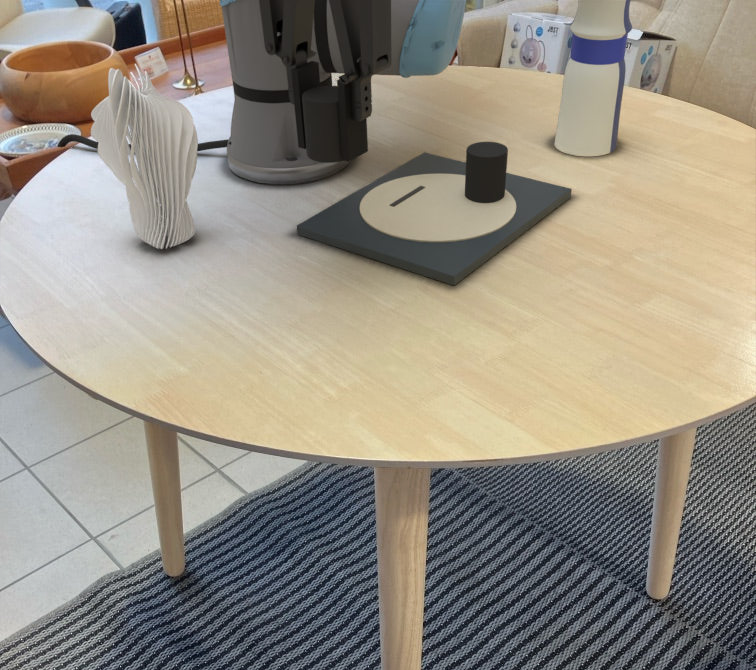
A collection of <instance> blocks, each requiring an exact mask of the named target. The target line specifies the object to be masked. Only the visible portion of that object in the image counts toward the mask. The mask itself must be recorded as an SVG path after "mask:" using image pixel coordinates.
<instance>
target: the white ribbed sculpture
mask: <svg viewBox="0 0 756 670" xmlns="http://www.w3.org/2000/svg"><path fill="white" fill-rule="evenodd" d="M134 67H135V69H136V71H137V73H138V77H139V79H140V83H141V86H140V84H139V82H138V81H137V78H136V76H135V75H134V73H133V71H130V72H129V74H130V76H131V78H132V79H133V80H134V82H135V83H136V86H137V88H136V86H135V85H134V84H133V83H132V82H131V80H130V79H128V76H126V75H125V76H124V74H123V72H122V70H121V69H119V68H117V69H115V68H113V67H110V68H109V71H108V75H107V85H108V86H107V87H108V96H106V97H105V98H103V99H102V101H100V102H99V103H98V104H97V105H95V106H94V108H93V109H92V110H91V113H90V116H91V119H92V121H93V123H92V126H91V128H90V136H91V137H92V139H93V140H94V141H96V142H99V143H98V149H97V154H98V156H99V158H100V159H101V161H102V162H103V163H104V164H105V165H106V166H107V167H108V169H109V170H110V171H111V173H112V174H113V175H114V176H115V178H116V180H118V181H119V182H120V183H121V184H123V185H124V187H125V191H126V197H127V200H128V201H127V202H128V203H129V205H128V207H129V214H130V219H131V223H132V227H133V230H134V232H135V234H136V235H137V236H138V238H139V239H140V240H142V241H143V242H144V243H146V244H148V245H150V246H151V247H153V248H156V249H160V250H163V249H164V248H165V249H166V250H167V249H168V248H172V247H175V246H178V245H181V244H182V243H185V242H187V241H189V240H190V239H192V238H193V237H194V235H195V230H196V228H195V222H194V218H193V216H192V212H191V210H190V207H189V204H188V201H187V199H188V196H189V194H190V191H191V187H192V182H193V179H194V176H195V173H196V169H197V164H198V152H197V147H198V144H199V138H198V137H199V136H198V132H197V127H196V126H195V123H194V119H193V118H194V117H193V115H192V113H191V112H190V110H189V109H188V107H186V105H184V104H183V103H182V102H180V101H179V100H177V99H174V98H172V97H169V96H168V95H164V94H163V93H160V92H159V91H158V89H157V88H156V87H154V85H153V82H152V80H151V77H150V76H149V74H148V71H147V70H144V75H145V77H144V76H143V73H142V72H141V69H140V68H139V67H138V65H137V63H134ZM129 144H131V150H130V147H129ZM135 159H136V160H135Z"/></svg>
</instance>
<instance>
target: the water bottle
mask: <svg viewBox="0 0 756 670" xmlns="http://www.w3.org/2000/svg"><path fill="white" fill-rule="evenodd" d="M631 1H632V0H577V9H576V14H575V15H574V16H575V17H574V19H573V20H572V21H571V23H570V24H569V29H570V31H571V32H572V35H571V43H570V44H571V45H570V53H569V57H568V59H567V61H566V64H565V67H564V73H563V81H562V88H561V96H560V103H559V104H560V105H559V112H558V117H557V125H556V131H555V137H554V141H553V142H554V143H553V145H554V147H555V149H557V150H558V151H559V152H562V153H564V154H567V155H571V156H577V157H600V156H605V155H608V154H611V153H613V152H614V151H615V150H617V147H618V137H619V127H620V118H621V109H622V100H623V95H624V87H625V82H626V81H625V80H626V69H627V68H626V59H625V57H626V49H627V42H628V35H629V33H630V32H632V30H633V25H632V22H631V19H630V6H631Z"/></svg>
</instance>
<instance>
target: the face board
mask: <svg viewBox="0 0 756 670" xmlns="http://www.w3.org/2000/svg"><path fill="white" fill-rule="evenodd" d="M465 174H466V161H461V160H457V159H453V158H449V157H445V156H441V155H437V154H433V153H429V152H425V151H424V152H422V153H421V154H419V155H417V156H415V157H413V158H412V159H410V160H408V161H406V162H404V163H403V164H401V165H400V166H397V167H396V168H395V169H393V170H391V171H389V172H387V173H385V174H384V175H382V176H381V177H379V178H377V179H375V180H373V181H372V182H370V183H368V184H367V185H364V186H363V187H361V188H359V189H358V190H356V191H354V192H352V193H350V194H349V195H347V196H345V197H344V198H342V199H340V200H339V201H337V202H335V203H333V204H331V205H330V206H328V207H326V208H324V209H323V210H320V212H317V213H315V214H314V215H312V216H311V217H309V218H307V219H306V220H304V221H302V222H300V223H298V224H296V234H297V235H298V236H301V237H304V238H308V239H310V240H314V241H316V242H320V243H323V244H326V245H329V246H332V247H335V248H338V249H341V250H344V251H347V252H350V253H353V254H356V255H360V256H362V257H365V258H368V259H371V260H374V261H377V262H381V263H384V264H387V265H390V266H393V267H396V268H399V269H401V270H405V271H408V272H411V273H414V274H417V275H421V276H424V277H425V278H426V277H427V278H430V279H432V280H436V281H439V282H442V283H445V284H447V285H451V286H456V285H457V284H459V283H460V282H461V281H462V280H464V279H465V278H466V277H467V276H469V275H470V274H471V273H473V272H475V271H476V270H477V269H479V268H480V267H481V266H482V265H483V264H485V263H486V262H487V261H489V260H490V259H491V258H493V257H494V256H495V255H496V254H498V253H500V252H501V251H502V250H503V249H505V248H506V247H507V246H509V245H510V244H511V243H512V242H514V241H515V240H517V239H518V238H519V237H520V236H522V235H523V234H525V233H526V232H527V231H529V230H530V229H531V228H532V227H534V226H535V225H536V224H537V223H539V222H541V221H542V220H543V219H544V218H545V217H547V216H548V215H550V214H551V213H552V212H554V211H555V210H556V209H558V208H559V207H560V206H561V205H562V204H564V203H565V202H567V201H568V200H569V199H571V197H572V191H573V189H572V188H570V187H566V186H562V185H559V184H554V183H550V182H546V181H542V180H538V179H534V178H529V177H525V176H523V175H522V176H521V175H517V174H513V173H511V172H506V184H505V196H504V197H503V198H502V199H501V200H499V201H496V202H492V203H479V202H474V201H471V200H469V199H467V198H466V196H465Z"/></svg>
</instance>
